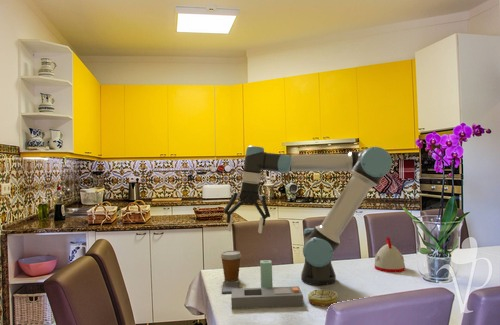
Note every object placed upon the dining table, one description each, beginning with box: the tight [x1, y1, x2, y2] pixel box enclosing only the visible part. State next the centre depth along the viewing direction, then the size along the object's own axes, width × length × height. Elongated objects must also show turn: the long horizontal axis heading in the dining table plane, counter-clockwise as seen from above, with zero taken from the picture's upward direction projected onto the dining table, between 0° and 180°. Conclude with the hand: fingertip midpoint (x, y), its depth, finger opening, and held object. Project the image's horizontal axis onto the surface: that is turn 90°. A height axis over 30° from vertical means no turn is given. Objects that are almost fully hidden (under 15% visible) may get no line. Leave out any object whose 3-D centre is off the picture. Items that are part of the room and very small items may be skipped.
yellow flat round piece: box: [307, 288, 338, 307], centre depth 134 cm, size 10×11×4 cm
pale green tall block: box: [259, 259, 274, 288], centre depth 148 cm, size 4×4×12 cm
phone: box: [221, 281, 240, 295], centre depth 152 cm, size 7×13×1 cm, turn 1°
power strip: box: [230, 285, 304, 310], centre depth 135 cm, size 26×10×5 cm, turn 91°
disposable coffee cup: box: [220, 250, 242, 282], centre depth 165 cm, size 10×10×12 cm
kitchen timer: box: [374, 236, 406, 274], centre depth 175 cm, size 14×14×15 cm
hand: (244, 231), depth 153 cm, fingers open, 13 cm apart
